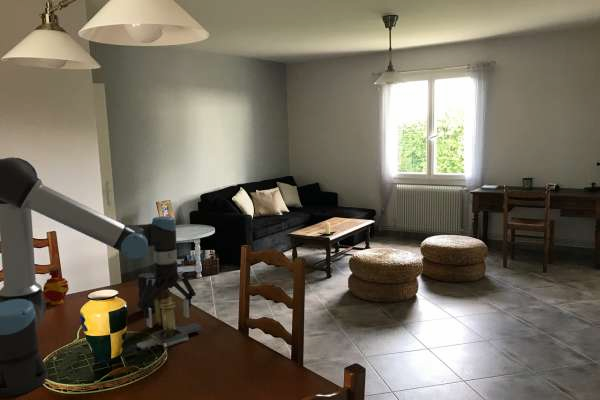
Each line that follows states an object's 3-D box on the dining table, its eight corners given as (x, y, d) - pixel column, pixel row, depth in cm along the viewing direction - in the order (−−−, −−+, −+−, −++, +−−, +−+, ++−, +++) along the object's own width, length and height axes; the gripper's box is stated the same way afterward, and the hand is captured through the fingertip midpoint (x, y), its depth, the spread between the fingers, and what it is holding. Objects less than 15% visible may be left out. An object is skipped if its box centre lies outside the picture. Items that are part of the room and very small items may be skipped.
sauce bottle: (175, 320, 180) (172, 270, 178) (169, 326, 174) (166, 275, 171) (159, 320, 181) (156, 270, 178) (152, 326, 175) (149, 275, 172)
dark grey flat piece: (144, 353, 152) (144, 346, 152) (134, 344, 159) (134, 338, 159) (204, 334, 167) (204, 328, 166) (193, 327, 173) (192, 320, 173)
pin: (166, 344, 159) (163, 307, 158) (159, 339, 163) (157, 303, 161) (180, 339, 163) (178, 304, 161) (173, 335, 166) (171, 300, 165)
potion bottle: (38, 307, 198) (35, 272, 196) (52, 298, 208) (49, 266, 206) (62, 306, 198) (59, 272, 196) (75, 298, 208) (72, 265, 206)
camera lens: (149, 315, 186) (147, 279, 184) (135, 312, 190) (133, 276, 188) (164, 309, 193) (162, 273, 191) (151, 305, 197) (148, 271, 195)
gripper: (133, 270, 148) (137, 334, 151) (203, 257, 164) (205, 315, 167) (125, 266, 154) (128, 327, 157) (193, 253, 170) (195, 309, 173)
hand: (168, 321), depth 162 cm, fingers open, 13 cm apart
